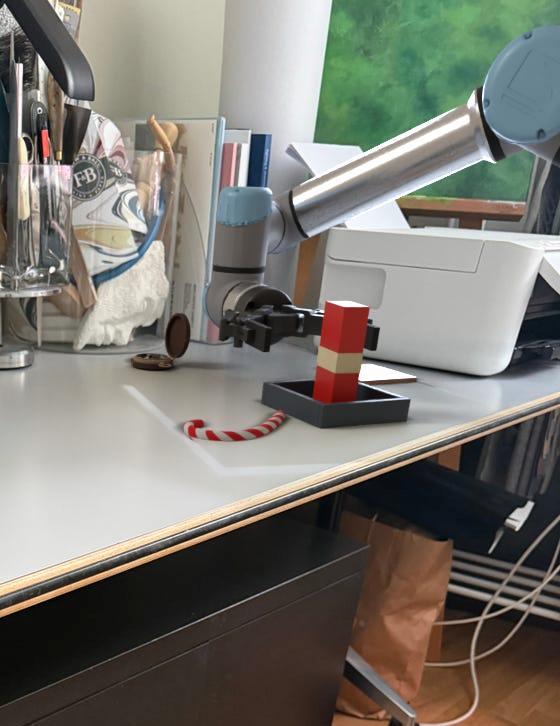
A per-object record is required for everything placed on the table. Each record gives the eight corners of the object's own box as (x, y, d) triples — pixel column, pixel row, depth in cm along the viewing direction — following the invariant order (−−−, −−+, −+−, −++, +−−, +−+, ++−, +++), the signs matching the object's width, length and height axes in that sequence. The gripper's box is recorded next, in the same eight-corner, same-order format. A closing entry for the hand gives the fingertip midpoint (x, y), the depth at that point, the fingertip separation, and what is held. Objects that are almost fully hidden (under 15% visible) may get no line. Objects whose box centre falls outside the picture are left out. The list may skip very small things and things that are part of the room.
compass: (122, 363, 136) (124, 311, 132) (171, 361, 138) (174, 309, 135) (147, 374, 129) (150, 319, 126) (197, 371, 132) (201, 317, 128)
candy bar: (334, 406, 112) (350, 300, 106) (353, 416, 107) (370, 306, 102) (310, 406, 111) (324, 300, 106) (328, 417, 107) (344, 307, 101)
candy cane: (308, 414, 104) (230, 437, 95) (306, 426, 105) (228, 450, 95) (250, 402, 109) (170, 423, 99) (249, 413, 110) (169, 435, 100)
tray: (406, 425, 106) (411, 398, 105) (320, 432, 102) (324, 405, 101) (340, 401, 117) (344, 376, 115) (260, 407, 113) (263, 381, 111)
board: (415, 384, 127) (417, 377, 126) (360, 388, 124) (361, 380, 123) (370, 370, 135) (371, 363, 135) (317, 373, 132) (318, 366, 132)
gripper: (338, 341, 133) (413, 370, 114) (169, 343, 128) (218, 373, 110) (346, 285, 129) (424, 306, 111) (173, 285, 125) (224, 306, 107)
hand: (322, 339), depth 110 cm, fingers open, 13 cm apart
